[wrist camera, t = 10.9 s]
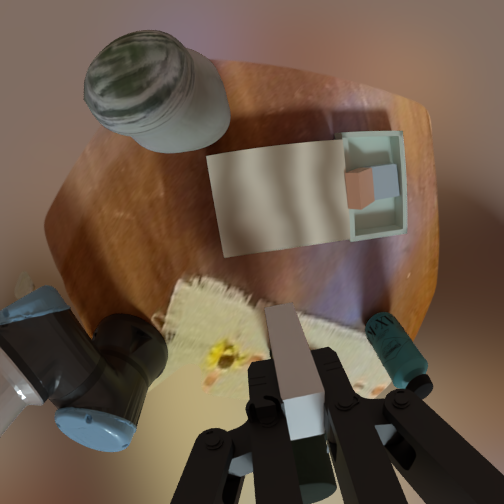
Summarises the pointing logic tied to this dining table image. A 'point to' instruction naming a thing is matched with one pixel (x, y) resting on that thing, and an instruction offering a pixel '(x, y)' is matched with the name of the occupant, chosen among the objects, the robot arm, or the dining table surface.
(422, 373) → the beverage bottle
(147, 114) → the grey tall rounded cylinder
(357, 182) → the tile terracotta
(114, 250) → the dining table surface
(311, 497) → the potato masher grenade
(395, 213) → the tray
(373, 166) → the tile slate
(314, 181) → the board
